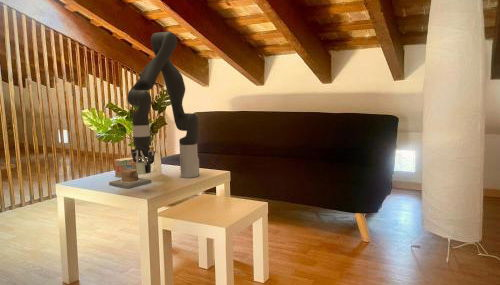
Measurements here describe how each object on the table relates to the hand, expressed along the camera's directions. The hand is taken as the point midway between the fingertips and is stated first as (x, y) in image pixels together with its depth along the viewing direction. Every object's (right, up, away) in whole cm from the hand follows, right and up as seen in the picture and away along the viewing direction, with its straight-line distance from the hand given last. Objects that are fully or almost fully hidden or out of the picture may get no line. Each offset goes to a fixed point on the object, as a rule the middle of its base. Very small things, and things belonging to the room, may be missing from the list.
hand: (144, 172), depth 178 cm
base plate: (-10, -7, +14) cm, 19 cm away
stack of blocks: (-15, -4, +37) cm, 41 cm away
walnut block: (-10, -5, +14) cm, 18 cm away
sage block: (0, 0, 0) cm, 0 cm away
